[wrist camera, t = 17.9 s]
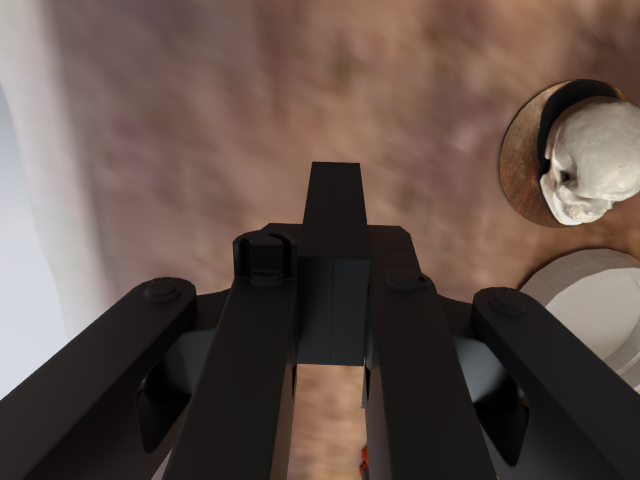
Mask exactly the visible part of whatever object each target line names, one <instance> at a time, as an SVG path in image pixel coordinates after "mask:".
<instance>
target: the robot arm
mask: <svg viewBox="0 0 640 480" xmlns="http://www.w3.org/2000/svg"><path fill="white" fill-rule="evenodd" d="M233 258H234V276H235V278H234V281H233V283H232V286H231V288H229V289H227V290H224V291H221V292H216V293H211V294H204V295H197V294H196V289H195V286H194V285H193V284H192V283H191V282H189V281H187V280H184V279H181V278H171V277H162V278H161V277H160V278H155V279H152V280H150V281H147V282H144V283H141V284H140V285H138V286H136V287H135V288H133V289H132V290H131V291H130V292H128V293H127V294H126V295H125V296H124V297H122V298H121V299H120V300H119V301H118V302H116V303H115V304H114V305H113V306H112V307H111V308H109V309H108V310H107V311H106V312H105V313H103V314H102V315H101V316H100V317H99V318H98V319H96V320H95V321H94V322H93V323H92V324H90V325H89V326H88V327H87V328H86V329H85V330H83V331H82V332H81V333H80V334H79V335H77V336H76V337H75V338H74V339H73V340H71V341H70V342H69V343H68V344H67V345H66V346H64V347H63V348H62V349H61V350H60V351H58V352H57V353H56V354H55V355H54V356H53V357H51V358H50V359H49V360H48V361H47V362H46V363H44V364H43V365H42V366H41V367H40V368H38V369H37V370H36V371H35V372H34V373H33V374H31V375H30V376H29V377H28V378H27V379H25V380H24V381H23V382H22V383H21V384H19V385H18V386H17V387H16V388H15V389H13V390H12V391H11V392H10V393H9V394H8V395H7V396H5V397H4V398H3V399H2V400H0V480H151V478H152V477H153V475H154V474H155V472H156V471H157V469H158V468H159V467H160V465H161V464H162V462H163V461H164V459H165V458H166V456H167V455H168V453H169V452H170V450H171V449H172V447H173V446H174V447H173V450H172V452H171V455H170V458H169V461H168V463H167V466H166V469H165V472H164V475H163V477H162V480H287V470H288V461H289V451H290V442H291V432H292V422H293V413H294V403H295V393H296V384H297V364H319V365H345V366H364V356H365V367H364V380H363V394H362V407H361V408H365V415H366V432H367V448H368V465H369V480H498V479H497V476H498V478H499V480H640V395H639V394H638V393H637V392H636V391H635V390H634V389H633V388H632V387H631V386H630V385H629V384H627V383H626V382H625V381H624V380H623V379H622V378H621V377H620V376H619V375H618V374H617V373H616V372H614V371H613V370H612V369H611V368H610V367H609V366H608V365H607V364H606V363H605V362H604V361H602V360H601V359H600V358H599V357H598V356H597V355H596V354H595V353H594V352H593V351H592V350H591V349H589V348H588V347H587V346H586V345H585V344H584V343H583V342H582V341H581V340H580V339H579V338H578V337H576V336H575V335H574V334H573V333H572V332H571V331H570V330H569V329H568V328H567V327H566V326H564V325H563V324H562V323H561V322H560V321H559V320H558V319H557V318H556V317H555V316H554V315H553V314H551V313H550V312H549V311H548V310H547V309H546V308H545V307H544V306H543V305H542V304H541V303H539V302H538V301H537V300H536V299H534V298H533V297H531V296H530V295H528V294H525V293H523V292H520V291H518V290H516V289H512V288H510V289H509V288H507V287H490V288H486V289H481V290H480V291H478V292H477V293H476V294H475V295H474V299H473V303H472V304H470V303H466V302H461V301H456V300H453V299H449V298H446V297H443V296H441V295H439V294H437V291H436V288H435V285H434V283H433V282H432V280H431V279H430V278H429V277H427V276H426V275H424V274H423V273H421V269H420V266H419V263H418V259H417V256H416V253H415V249H414V246H413V243H412V239H411V236H410V234H409V233H408V232H407V231H405V230H404V229H403V228H402V227H401V226H387V225H367V218H366V210H365V202H364V194H363V186H362V178H361V170H360V163H342V162H312V168H311V174H310V180H309V187H308V193H307V200H306V206H305V212H304V219H303V224H285V223H269V224H268V225H266V226H265V227H264V228H262V229H261V230H256V231H252V232H247V233H244V234H242V235H240V236H238V237H237V238H236V239H235V240H234V241H233ZM496 475H497V476H496Z"/></svg>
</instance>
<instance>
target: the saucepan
mask: <svg viewBox="0 0 640 480" xmlns="http://www.w3.org/2000/svg"><path fill="white" fill-rule="evenodd" d="M519 291H520V292H523V293H525V294H528V295H530V296H531V297H533V298H534V299H536V300H537V301H538V302H539V303H541V304H542V305H543V306H544V307H545V308H546V309H547V310H548V311H549V312H550V313H551V314H553V315H554V316H555V317H556V318H557V319H558V320H559V321H560V322H561V323H562V324H563V325H564V326H566V327H567V328H568V329H569V330H570V331H571V332H572V333H573V334H574V335H575V336H576V337H578V338H579V339H580V340H581V341H582V342H583V343H584V344H585V345H586V346H587V347H588V348H589V349H591V350H592V351H593V352H594V353H595V354H596V355H597V356H598V357H599V358H600V359H601V360H602V361H604V362H605V363H606V364H607V365H608V366H609V367H610V368H611V369H612V370H613V371H614V372H616V373H617V374H618V375H619V376H620V377H621V378H622V379H623V380H624V381H625V382H626V383H627V384H629V385H630V386H631V387H632V388H633V389H634V390H635V391H636V392H638V391H640V261H638V260H637V259H635V258H634V257H632V256H630V255H629V254H625V253H622V252H618V251H615V250H611V249H590V250H581V251H578V252H575V253H572V254H569V255H566V256H563V257H561V258H558V259H556V260H554V261H553V262H551V263H550V264H548V265H547V266H545V267H544V268H542V269H541V270H539V271H538V272H536V274H534V275H533V276H532V277H531V278H530V279H529V281H528V282H527V283H526V284H525V285H524V286H523V287H522V288H521V289H520V290H519Z"/></svg>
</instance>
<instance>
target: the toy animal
mask: <svg viewBox="0 0 640 480" xmlns="http://www.w3.org/2000/svg"><path fill="white" fill-rule="evenodd" d="M361 454H362V458H363V460H365V462H366V464H364V465H363V467H360V474H361V476H362V480H369V465H368V448H366V449H365V450H364V451H362V453H361Z"/></svg>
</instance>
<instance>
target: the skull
mask: <svg viewBox="0 0 640 480" xmlns="http://www.w3.org/2000/svg"><path fill="white" fill-rule="evenodd" d="M500 177H501V183H502V187H503V190H504V193H505V195H506V197H507V198H508V200H509V202H510V203H511V205H512V206H513V207H514V209H515V210H516V211H517V212H518V213H519V214H521V215H522V216H523V217H525V218H526V219H528V220H529V221H531V222H534V223H536V224H539V225H542V226H546V227H553V228H563V227H570V226H576V225H580V224H581V223H588V222H593V221H595V220H597V219H599V218H600V217H601V216H602V215H604V213H605V212H606V211H607V210H609V209H610V210H611V209H612V207H613V205H615V203H617V201H623V200H626V199H628V198H630V197H632V196H633V195H635V194H636V193H638V192H639V191H640V108H638V107H637V106H635V105H633V103H632V102H631V100H629V98H628V97H626V96H625V95H624V93H622V92H621V91H620V90H619V89H617V88H615V87H613V86H611V85H609V84H606V83H604V82H600V81H596V80H587V79H581V80H572V81H567V82H564V83H561V84H558V85H555V86H553V87H551V88H549V89H547V90H545V91H544V92H542V93H541V94H539V95H538V96H536V97H535V98H534V99H532V100H531V101H530V102H529V103H528V104H527V105H526V106H525V107H524V108H523V109H522V110H521V112H520V113H519V114H518V115H517V117H516V118H515V120H514V121H513V123H512V124H511V126H510V128H509V130H508V132H507V135H506V137H505V140H504V143H503V146H502V150H501V154H500Z"/></svg>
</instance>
